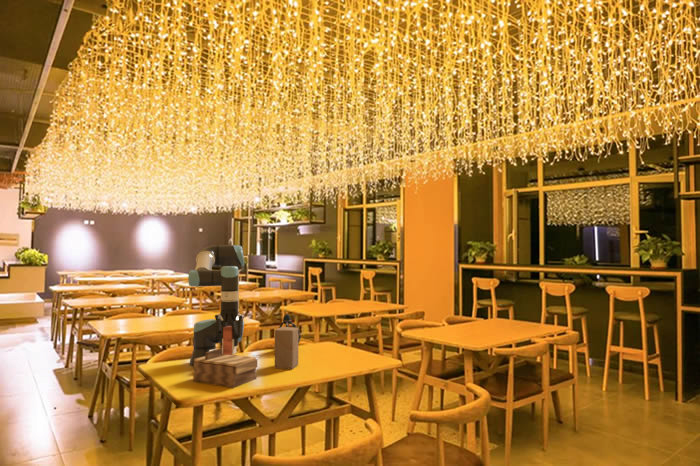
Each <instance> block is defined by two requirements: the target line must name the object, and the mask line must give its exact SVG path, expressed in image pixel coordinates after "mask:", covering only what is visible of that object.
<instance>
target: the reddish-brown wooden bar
mask: <svg viewBox="0 0 700 466" xmlns="http://www.w3.org/2000/svg"><path fill="white" fill-rule="evenodd" d="M233 338H234V337H233V332H232V326H226V327H223V355H234V354H232V339H233Z"/></svg>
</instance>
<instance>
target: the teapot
mask: <svg viewBox="0 0 700 466" xmlns="http://www.w3.org/2000/svg"><path fill="white" fill-rule="evenodd" d="M289 324H290V325H291V326H292V327H296V328H298V326H297V325H296V324H295V323H294V322H292V318H291V316H290V314H288V313H286V314H284V316H283V318H282V322H281V323H280V325H279V327H278V328H281V327H283V325H285V327H289ZM301 337H302V335H301V332H300V329H299V328H298V344H299V343H300V342H301V339H302V338H301ZM274 341H275V338H274Z"/></svg>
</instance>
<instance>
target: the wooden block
mask: <svg viewBox="0 0 700 466" xmlns="http://www.w3.org/2000/svg"><path fill="white" fill-rule="evenodd" d="M298 329H299V328H298V327H297V328H296V327H291V326H288V327H286V326H282V327H281V328H279V327H278V328H276V329H274V339H275V340H274V369H276V370H277V369H278V370H279V369H280V370H294V368H296V367H298V366H299V343H298V338H299V335H298Z"/></svg>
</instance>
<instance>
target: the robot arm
mask: <svg viewBox="0 0 700 466" xmlns="http://www.w3.org/2000/svg"><path fill="white" fill-rule="evenodd" d="M244 257H245V255H244V250H243V247H242V246H241V245H236V244H228V245H223V244H222V245H220V244H217V245H215V244H214V245H210V246H206V247H205V248H203V249H201V250H199V252H198V253H197V255H196V258H195V262H196V265H195V268H194V269H191V270H189V272H188V276H187V277H188V286H189V287H196V288H198V287H199V288H200V287H220V301H221V302H220V312H219V313H217V314H215V315H214V318H210V319H204V320H200V321H196V322H195V323H194V324H193V330H192V332H193V350H192V353H191V356H190V359H189V365H190V366H191V367H194V362H196V361H194V359H196V358H199V357H203V356H205V353H206V352H209V350H212V349H217V348H216V347H217V346H216V345H217V344H220V347H221V348H222V354H223V327H226V326H232V332H233V337H234V338H233V339H232V354H233V355H236V354H237V347H238V346H239V343H240V342H241V341H242V340H243V335H244V329H245V328H244V327H245V326H244V325H245V321H244V318H245V315H244V314H241V313H240V309H239V308H240V307H239V306H240V272H241V271H242V270H243V267H245V258H244ZM213 267H220V268H219V269H212V268H213Z"/></svg>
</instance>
